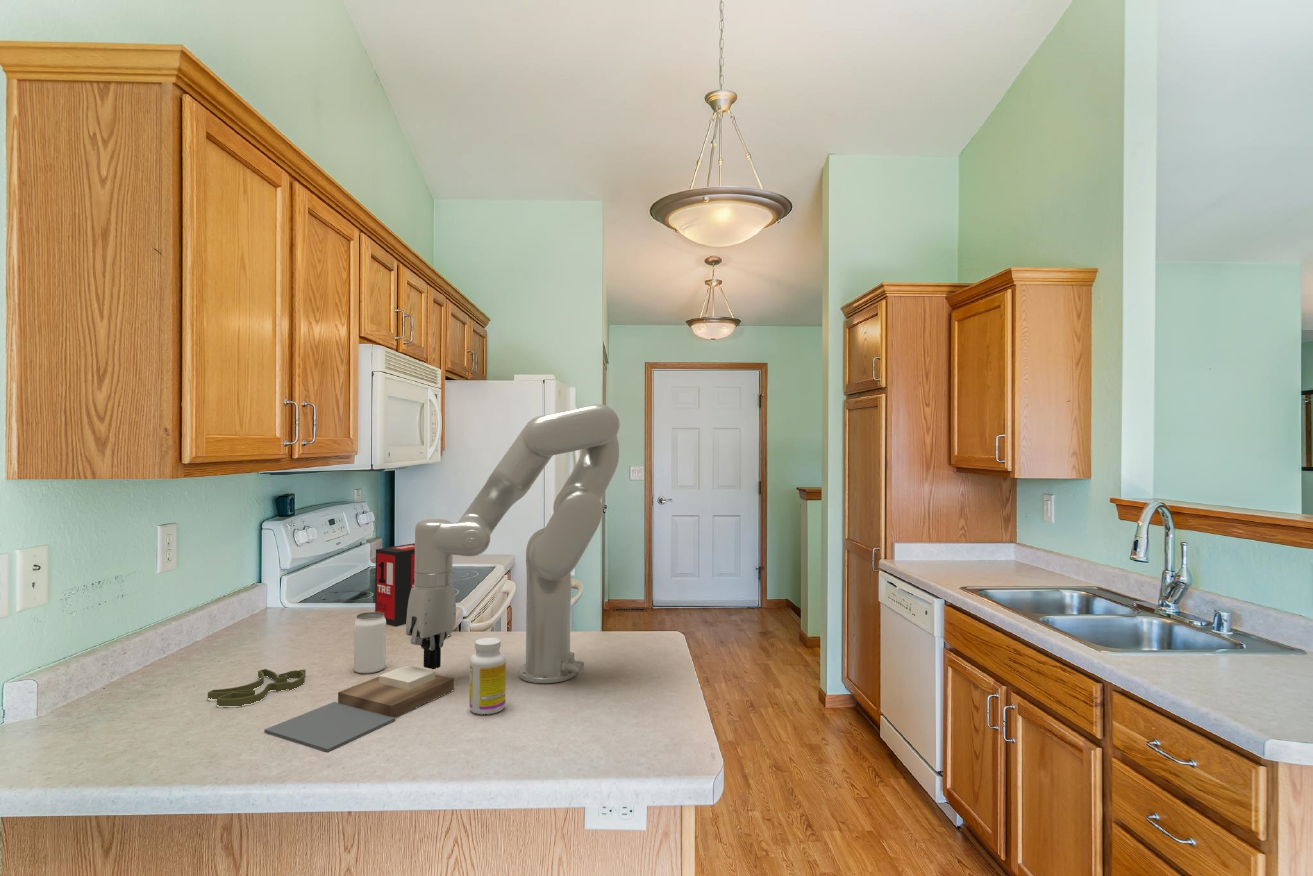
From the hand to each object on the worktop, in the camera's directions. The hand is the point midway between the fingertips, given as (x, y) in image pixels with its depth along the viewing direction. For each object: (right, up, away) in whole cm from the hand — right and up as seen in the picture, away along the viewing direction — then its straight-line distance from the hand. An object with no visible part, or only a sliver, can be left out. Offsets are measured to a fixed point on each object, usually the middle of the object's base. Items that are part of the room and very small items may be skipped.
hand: (431, 667), depth 143 cm
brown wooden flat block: (-4, -3, -8) cm, 10 cm away
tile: (-3, -1, -6) cm, 7 cm away
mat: (-11, -3, -22) cm, 24 cm away
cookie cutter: (-33, -4, -5) cm, 33 cm away
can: (-16, -3, +8) cm, 18 cm away
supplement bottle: (+15, -4, -13) cm, 20 cm away
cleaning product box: (-23, -3, +51) cm, 56 cm away
